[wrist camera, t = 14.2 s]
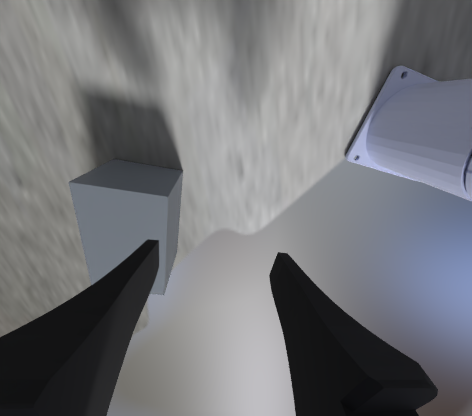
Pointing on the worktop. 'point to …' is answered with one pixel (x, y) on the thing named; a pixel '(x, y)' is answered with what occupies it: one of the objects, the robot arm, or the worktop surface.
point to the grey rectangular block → (127, 215)
